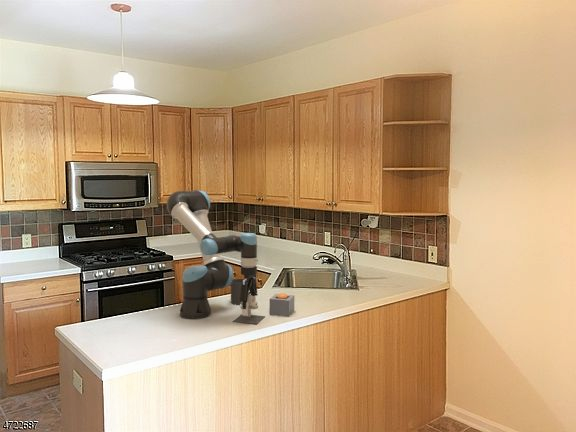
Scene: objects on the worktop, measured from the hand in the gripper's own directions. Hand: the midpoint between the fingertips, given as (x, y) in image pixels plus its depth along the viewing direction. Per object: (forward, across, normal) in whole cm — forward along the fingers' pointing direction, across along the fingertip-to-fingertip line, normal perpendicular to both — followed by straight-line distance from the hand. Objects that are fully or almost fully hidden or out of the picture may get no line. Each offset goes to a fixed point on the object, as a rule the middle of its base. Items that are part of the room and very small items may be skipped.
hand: (248, 312), depth 234 cm
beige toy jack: (+2, 0, 0) cm, 2 cm away
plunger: (-3, +15, -12) cm, 20 cm away
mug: (+4, +28, +14) cm, 31 cm away
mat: (+4, 0, 0) cm, 4 cm away
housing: (+4, +15, -12) cm, 20 cm away
